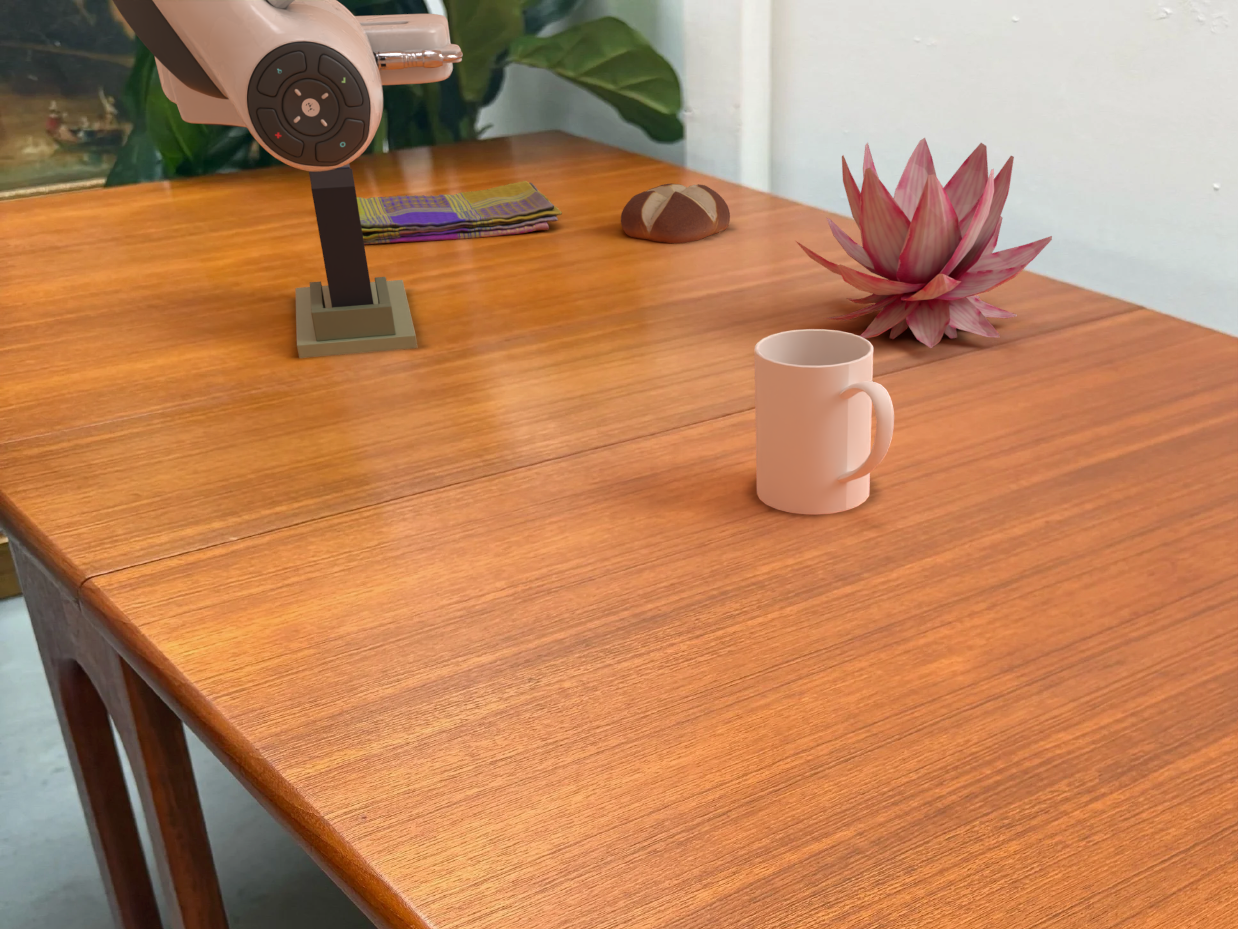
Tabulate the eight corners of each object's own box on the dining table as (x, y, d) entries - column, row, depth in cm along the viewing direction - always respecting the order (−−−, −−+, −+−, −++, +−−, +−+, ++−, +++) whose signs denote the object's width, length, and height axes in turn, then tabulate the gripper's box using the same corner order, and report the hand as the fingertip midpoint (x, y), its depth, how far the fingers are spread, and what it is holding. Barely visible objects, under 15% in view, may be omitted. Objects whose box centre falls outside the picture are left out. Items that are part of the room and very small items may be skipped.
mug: (735, 490, 106) (731, 342, 100) (826, 466, 110) (828, 321, 104) (835, 551, 98) (837, 393, 92) (930, 523, 101) (938, 369, 96)
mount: (418, 352, 132) (394, 189, 124) (299, 362, 129) (268, 197, 122) (405, 295, 146) (383, 146, 138) (298, 303, 144) (269, 152, 136)
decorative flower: (760, 318, 139) (757, 144, 131) (953, 287, 148) (962, 121, 139) (880, 386, 124) (885, 194, 115) (1088, 347, 132) (1107, 164, 124)
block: (336, 334, 131) (311, 188, 124) (334, 311, 137) (310, 170, 130) (377, 330, 132) (354, 186, 125) (374, 307, 137) (351, 168, 131)
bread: (746, 229, 166) (745, 182, 164) (680, 251, 159) (678, 202, 156) (668, 215, 172) (666, 169, 169) (601, 236, 164) (598, 188, 161)
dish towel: (328, 214, 173) (323, 188, 171) (539, 198, 179) (537, 174, 177) (336, 252, 159) (332, 225, 157) (565, 234, 165) (563, 208, 163)
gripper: (459, 6, 100) (442, -17, 111) (134, 17, 96) (149, -8, 107) (471, 108, 104) (453, 76, 115) (158, 124, 99) (170, 89, 110)
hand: (304, 36), depth 111 cm, fingers open, 8 cm apart
